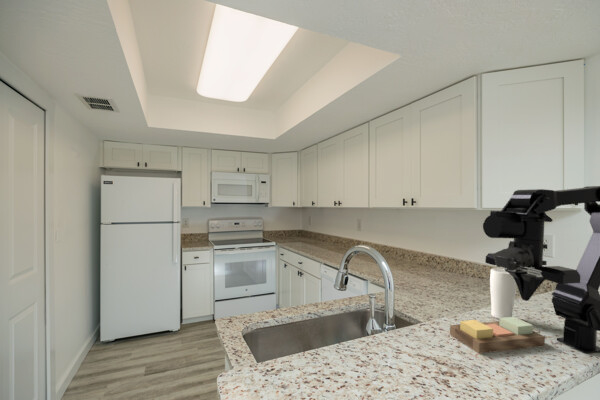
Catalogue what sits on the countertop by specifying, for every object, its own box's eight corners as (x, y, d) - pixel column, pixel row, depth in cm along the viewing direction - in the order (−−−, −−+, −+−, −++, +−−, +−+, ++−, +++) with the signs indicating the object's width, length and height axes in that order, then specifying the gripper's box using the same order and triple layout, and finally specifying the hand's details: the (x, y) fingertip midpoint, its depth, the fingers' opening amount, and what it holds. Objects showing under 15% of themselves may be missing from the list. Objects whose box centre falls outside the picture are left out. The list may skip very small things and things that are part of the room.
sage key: (513, 326, 75) (513, 316, 75) (532, 335, 70) (533, 325, 70) (499, 327, 74) (499, 317, 74) (517, 336, 69) (518, 326, 69)
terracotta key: (494, 333, 73) (495, 323, 73) (512, 343, 69) (513, 333, 69) (479, 334, 72) (480, 325, 72) (497, 345, 67) (497, 334, 67)
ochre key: (475, 329, 72) (475, 319, 72) (492, 339, 67) (493, 328, 67) (459, 331, 71) (460, 321, 71) (476, 341, 66) (476, 330, 66)
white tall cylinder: (503, 323, 80) (506, 274, 80) (483, 313, 87) (485, 268, 87) (520, 321, 82) (522, 273, 82) (498, 312, 89) (500, 267, 89)
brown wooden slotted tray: (509, 328, 77) (510, 320, 77) (544, 346, 68) (544, 336, 68) (449, 334, 73) (450, 325, 72) (478, 353, 64) (479, 343, 64)
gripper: (470, 233, 74) (468, 288, 75) (545, 245, 56) (541, 319, 56) (502, 233, 77) (499, 287, 77) (583, 245, 59) (580, 315, 59)
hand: (525, 300), depth 67 cm, fingers closed
